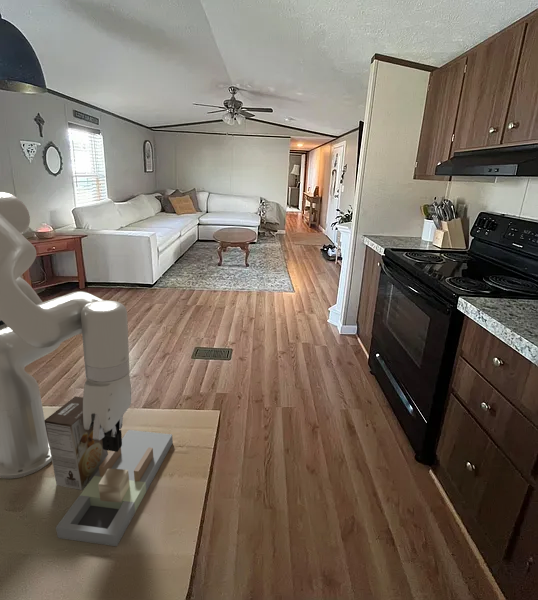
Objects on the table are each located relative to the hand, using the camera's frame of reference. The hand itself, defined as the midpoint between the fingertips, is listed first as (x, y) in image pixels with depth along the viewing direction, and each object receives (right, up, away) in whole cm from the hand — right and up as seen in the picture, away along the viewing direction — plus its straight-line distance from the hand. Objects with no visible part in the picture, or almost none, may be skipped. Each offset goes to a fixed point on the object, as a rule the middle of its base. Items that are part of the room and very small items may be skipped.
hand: (112, 447), depth 75 cm
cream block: (+1, -8, -2) cm, 8 cm away
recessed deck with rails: (+1, -9, +4) cm, 10 cm away
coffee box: (-9, -8, +6) cm, 13 cm away
